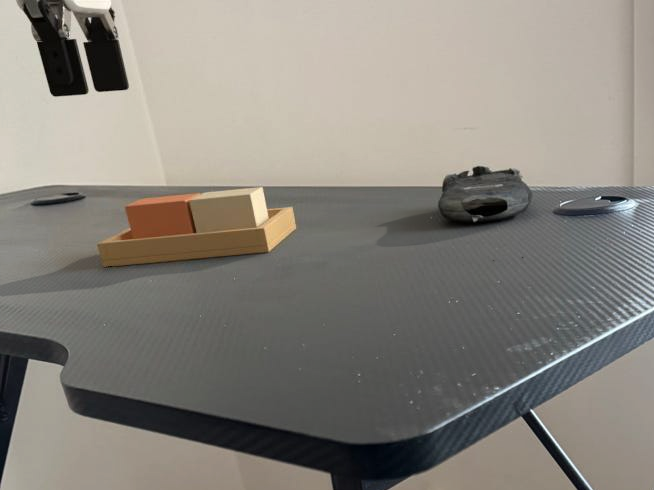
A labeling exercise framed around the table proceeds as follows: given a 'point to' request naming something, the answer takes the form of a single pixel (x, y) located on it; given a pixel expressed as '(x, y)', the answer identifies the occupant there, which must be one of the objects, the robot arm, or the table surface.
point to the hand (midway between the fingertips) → (92, 93)
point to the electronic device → (484, 195)
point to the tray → (198, 242)
